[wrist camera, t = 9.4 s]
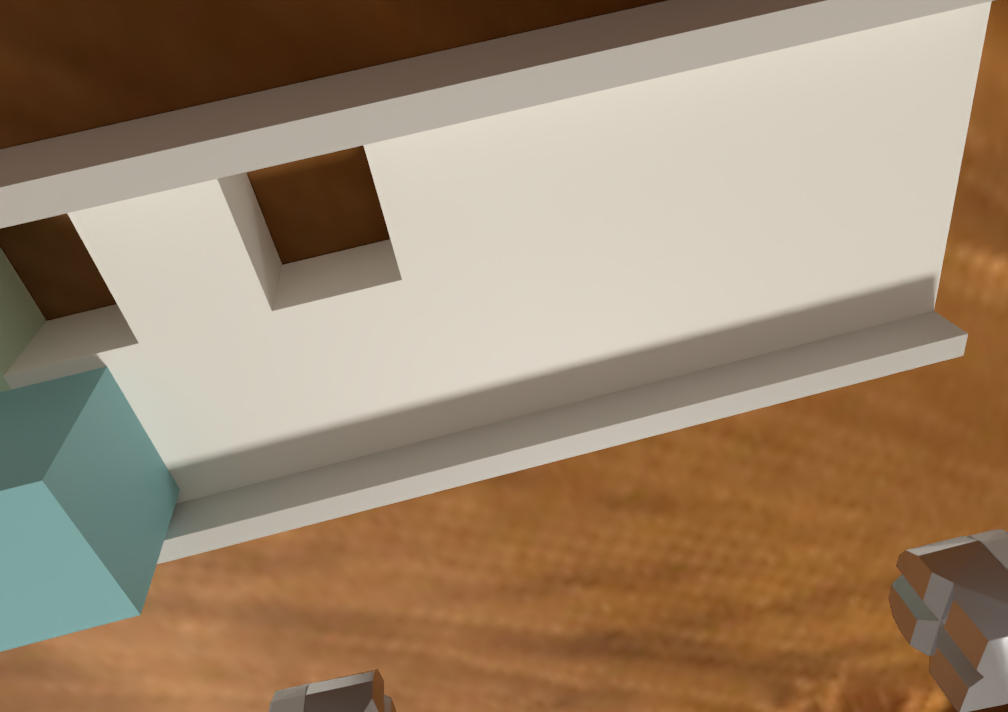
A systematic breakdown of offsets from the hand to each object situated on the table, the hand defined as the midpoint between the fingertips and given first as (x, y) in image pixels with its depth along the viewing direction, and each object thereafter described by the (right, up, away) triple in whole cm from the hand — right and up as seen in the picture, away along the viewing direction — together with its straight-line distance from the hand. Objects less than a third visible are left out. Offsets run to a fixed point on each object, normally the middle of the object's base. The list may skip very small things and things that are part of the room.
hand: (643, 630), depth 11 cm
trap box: (-4, +7, +11) cm, 14 cm away
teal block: (-14, +2, +9) cm, 17 cm away
